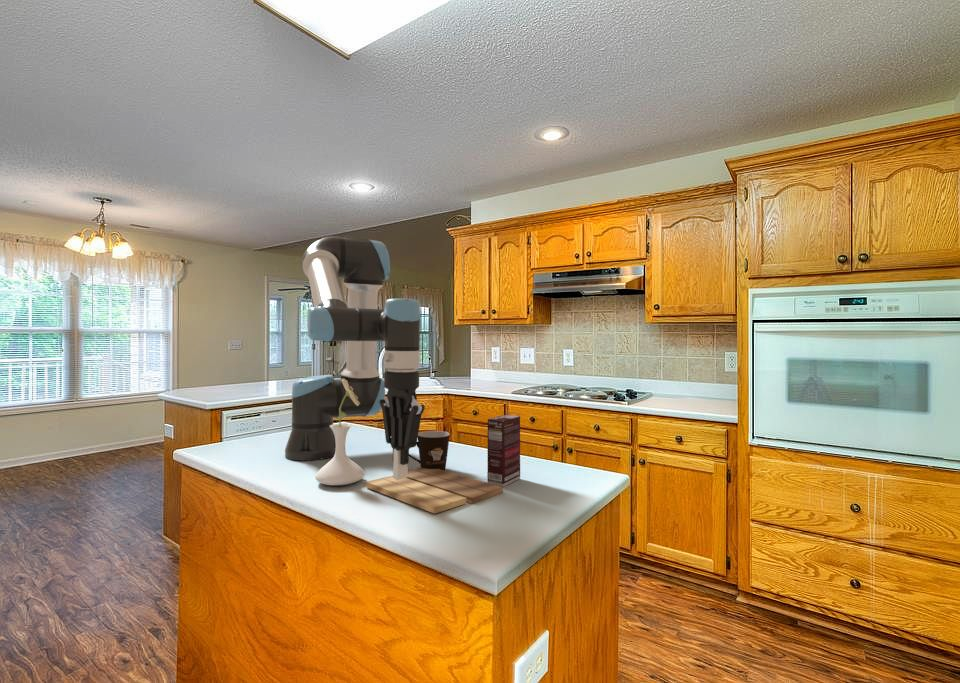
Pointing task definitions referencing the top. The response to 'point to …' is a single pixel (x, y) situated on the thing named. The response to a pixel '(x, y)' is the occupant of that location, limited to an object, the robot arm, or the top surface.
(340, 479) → the flower in vase
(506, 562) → the top surface
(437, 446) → the coffee mug
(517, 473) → the supplement box
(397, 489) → the plank
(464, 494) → the laid strip
